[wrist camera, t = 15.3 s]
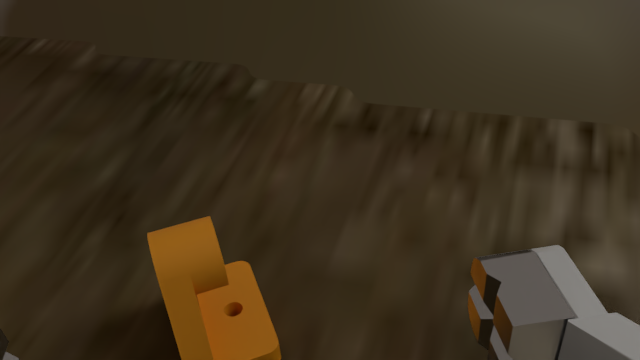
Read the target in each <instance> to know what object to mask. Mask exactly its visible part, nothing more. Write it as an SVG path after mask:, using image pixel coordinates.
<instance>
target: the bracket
mask: <svg viewBox="0 0 640 360" xmlns="http://www.w3.org/2000/svg"><path fill="white" fill-rule="evenodd" d="M147 236H148V242H149V247H150V251H151V256H152V260H153V264H154V267H155V271H156V275H157V278H158V282H159V285H160V289H161V292H162V295H163V299H164V302H165V305H166V309H167V312H168V316H169V319H170V322H171V326H172V329H173V333H174V336H175V339H176V343H177V346H178V349H179V353H180V356H181V360H281V353H280V347H279V341H278V338H277V335H276V332H275V330H274V327H273V325H272V322H271V319H270V317H269V314H268V311H267V309H266V306H265V303H264V301H263V298H262V296H261V293H260V290H259V288H258V285H257V282H256V280H255V277H254V274H253V272H252V269H251V267H250V264H249V263H247V262H245V261H236V262H233V263H230V264H226V265H224V262H223V258H222V254H221V250H220V247H219V243H218V240H217V236H216V233H215V230H214V227H213V224H212V221H211V218H210V216H208V217H204V218H200V219H197V220H193V221H190V222H186V223H182V224H179V225H175V226H171V227H168V228H164V229H161V230H157V231H153V232H150V233H147Z"/></svg>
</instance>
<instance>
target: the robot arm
mask: <svg viewBox="0 0 640 360" xmlns="http://www.w3.org/2000/svg"><path fill="white" fill-rule="evenodd" d="M471 276H472V278H473V280H474V282H475V285H474V286H473V288H472V289H471V290H470V291H469V296H468V309H469V317H470V322H471V326H472V329H473V332H474V335H475V337H476V340H477V342H478V344H480V345H481V346H483V347H484V348H486V349H487V350H488V358H487V360H640V325H638V324H636V323H634V322H633V321H631V320H629V319H627V318H626V317H624V316H622V315H620V314H618V313H607V311H606V310H605V308H604V307H603V305H602V304H601V302H600V301H599V299H598V298H597V296H596V295H595V294H594V292H593V291H592V289H591V288H590V286H589V285H588V283H587V282H586V280H585V279H584V277H583V276H582V274H581V273H580V272H579V270H578V269H577V267H576V266H575V264H574V263H573V261H572V260H571V258H570V257H569V255H568V254H567V252H566V251H565V250H564V248H562V247H561V246H559V245H555V246H548V247H542V248H535V249H530V250H522V251H515V252H509V253H502V254H496V255H490V256H483V257H477V258H474V260H473V262H472V267H471ZM8 343H9V341H8V339H7V338H6V336H5V335H4V333H3V332H2V330H1V329H0V360H20V359H19V358H17V357H15V356H13V355H11V354H9V353H7V352H6V349H7V346H8Z"/></svg>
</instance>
